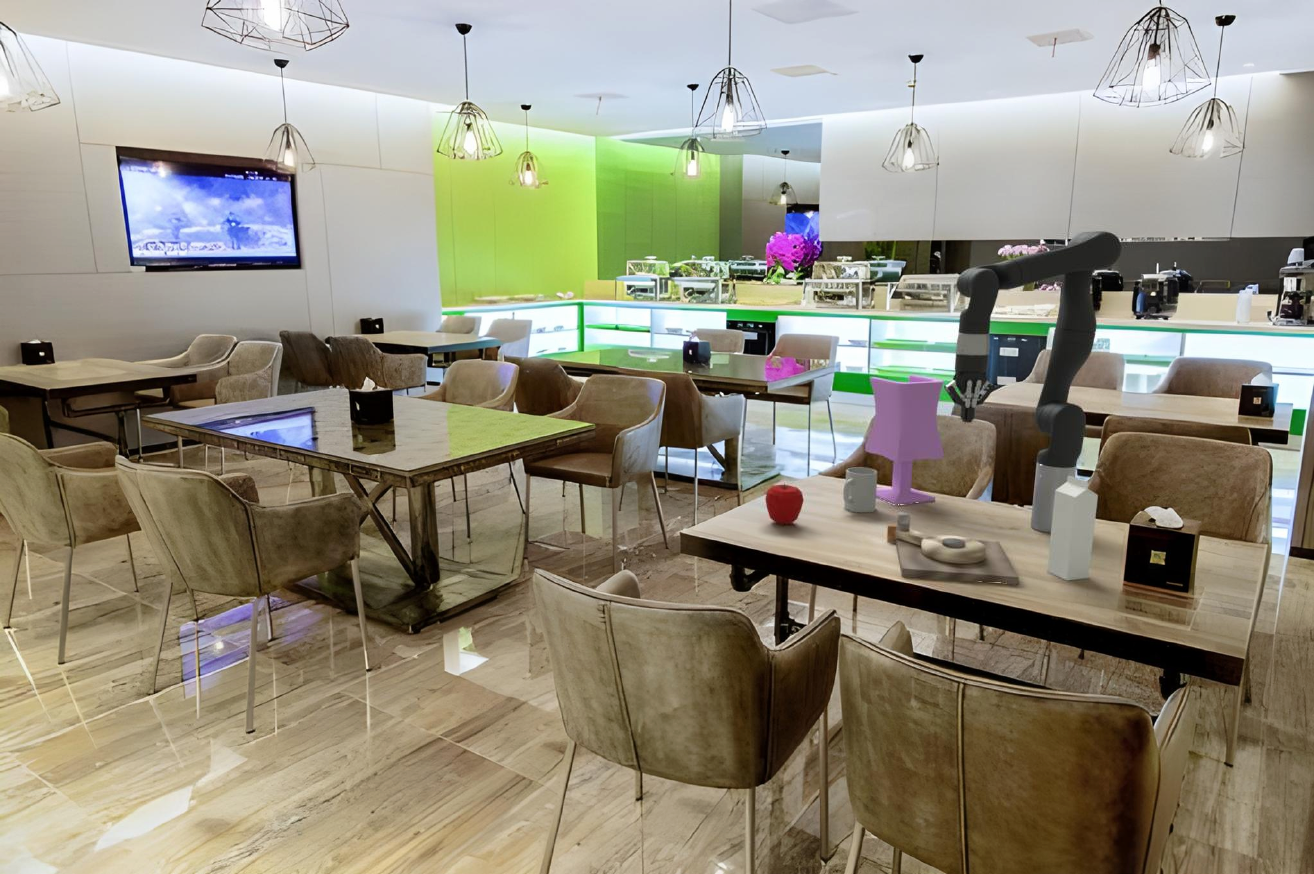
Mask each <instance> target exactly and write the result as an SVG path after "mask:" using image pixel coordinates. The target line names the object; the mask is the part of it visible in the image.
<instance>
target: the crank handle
mask: <svg viewBox="0 0 1314 874" xmlns="http://www.w3.org/2000/svg"><path fill="white" fill-rule="evenodd" d="M896 516H897V518H896V524H897V529H896V532H895V538H898V539H901V540H904V541H908V542H911V543H914V544H917V545H920V546H921V552H922V553H923V554H924V555H926V556H927V557H930V558H932V559H935V560H938V561H943V562H948V563H957V564H970V563H977V562H981V561H983V560H984V559H985V556H986V547H985V545H983V544H982V543H980V542H978V541H976V540H977V539H972V538H970V537H964V536H959V535H951V534H950V535H949V534H948V535H947V534H946V535H945V534H938V535H930V534H927V533H923V532H920V531H917V530H916V531H915V530H913V529H911V528H910V527H911V514H910V513H909V512H901V511H900V512H897V515H896Z"/></svg>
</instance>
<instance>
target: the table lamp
mask: <svg viewBox="0 0 1314 874" xmlns="http://www.w3.org/2000/svg"><path fill="white" fill-rule="evenodd" d="M869 381H870V385H871V387H872V391H873V392H872V393H873V397H874V407H875V408H874V410H875V411H874V412H875V415H874V420H873V425H872V428H871V431H870V433H869V436H868V438H867V439H866V442H865V444H864V445H865V448H864V451H865V452H867V453H870V454H873V455H879V456H882V457H884V458H887V459H888V460H890V461H892V462H893V466H892V482H891V483H892V484H891V487H882V488H881V487H880V488H876V497H878V498H877V499H879V498H881V499H882V500H881V499H880V500H881V501H883V500H885V501H887V502H886V503H888V502H890V503H892V504H895V505H898V504H899V506H901V505H900V504H907V505H911V504H910V503H916V502H925V503H932V502H931V501H933V502H936V497H935V496H932V495H931V494H928V493H925V492H923V491H920V490H918V489H916V488H913V487H912V478H913V477H912V476H913V463H914V462H913V461H918V460H925V459H926V460H927V459H928V460H939V459H940V460H941V459H944V455H945V454H944V448H943V445H942V441H941V437H940V434H939V430H938V423H937V421H938V419H937V415H938V406H939V401H940V398H941V393H942V390H943V387H944V380H943V379H938V378H932V377H926V376H923V375H918V374H909V376H908V382H903V381H895V380H890V379H886V378H881V377H875V376H869ZM885 501H884V502H885ZM929 501H930V502H929ZM890 503H889V504H890ZM892 504H891V505H892ZM916 504H917V503H916ZM895 505H894V506H895Z"/></svg>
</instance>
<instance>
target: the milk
mask: <svg viewBox="0 0 1314 874" xmlns="http://www.w3.org/2000/svg"><path fill="white" fill-rule="evenodd" d="M1098 497H1099V495H1098V494H1097V493H1096V492H1094V491H1092V490H1091V489H1089V481H1087V480H1084V479H1081V478H1078V477H1076V476H1075V477H1072V476H1068V477H1067V482H1066V483H1065V484H1063V485H1062V486H1061V487H1059V488H1058V489H1056V490H1055V499H1054V509H1053V519H1052V528H1051V533H1050V540H1049V550H1048V558H1047V559H1048V560H1047V569H1046V571H1047V572H1048V573H1050V574H1052V575H1054V576H1056V577H1058V578H1060V579H1062V580H1064V581H1075V580H1083V579H1089V577H1090V568H1091V558H1092V549H1093V542H1094V534H1095V533H1094V532H1095V526H1096V525H1095V524H1096V517H1097V516H1096V514H1097V506H1098Z"/></svg>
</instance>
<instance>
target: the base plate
mask: <svg viewBox="0 0 1314 874" xmlns="http://www.w3.org/2000/svg"><path fill="white" fill-rule="evenodd" d="M896 529H897V523H890V522H889V523H887V530H886V531H887V533H886V540H887V543H895V547H896V552H897V558H898V564H899V569H900V573H901V577H908V578H922V579H934V580H936V579H937V580H946V579H948V580H949V581H960V582H972V581H982V582H981V583H985V582H1001V583H1007V584H1006V585H1011V584H1018V585H1019V575H1018V573H1017V572H1016V570H1015V568H1014V565H1013V564H1012V563H1011V561H1010V559H1009V558H1008V555H1007V554H1006V552H1005V550H1004V548H1003V547H1002V545H1001V543H1000V541H998V540H997V541H996V540H979V539H975V540H976V541H978V542H980V543H982V544H983V545H985V547H986V556H985V559H984V560H983V561H981V562H977V563H970V564H957V563H948V562H943V561H938V560H935V559H932V558H930V557H927V556H926V555H924V554H923V553H922V552H921V546H920V545H917V544H914V543H911V542H908V541H904V540H901V539H898V538H895V532H896Z"/></svg>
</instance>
